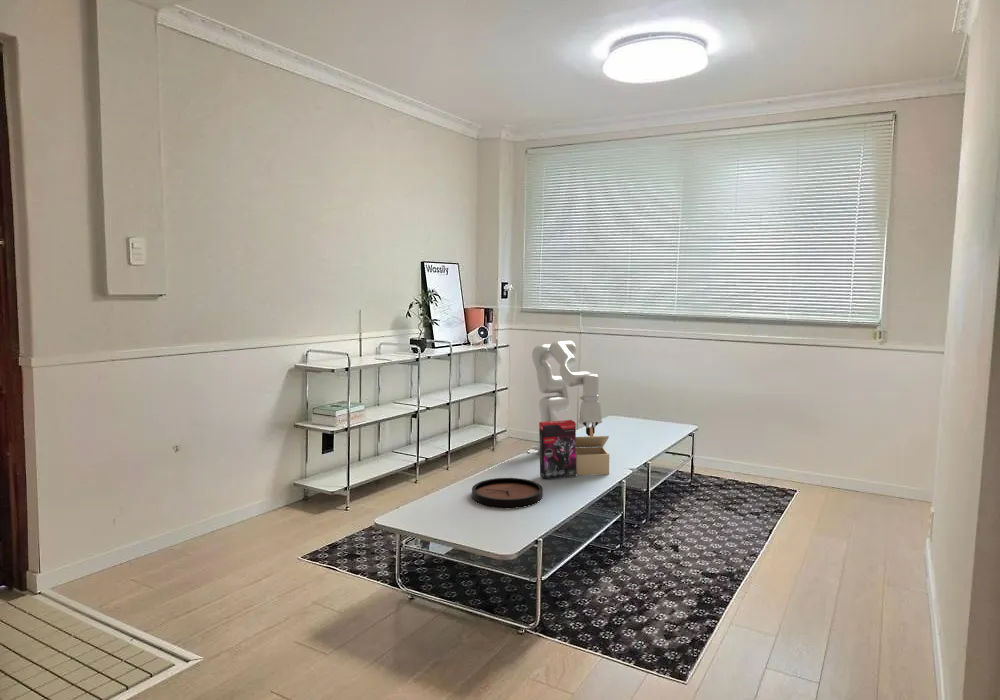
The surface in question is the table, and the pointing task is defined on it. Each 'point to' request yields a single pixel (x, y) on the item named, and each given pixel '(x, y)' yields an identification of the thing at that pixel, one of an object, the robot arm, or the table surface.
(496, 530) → the table surface
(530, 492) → the wall clock
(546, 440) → the graphics card box
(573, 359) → the robot arm
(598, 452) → the carton
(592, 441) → the flap
